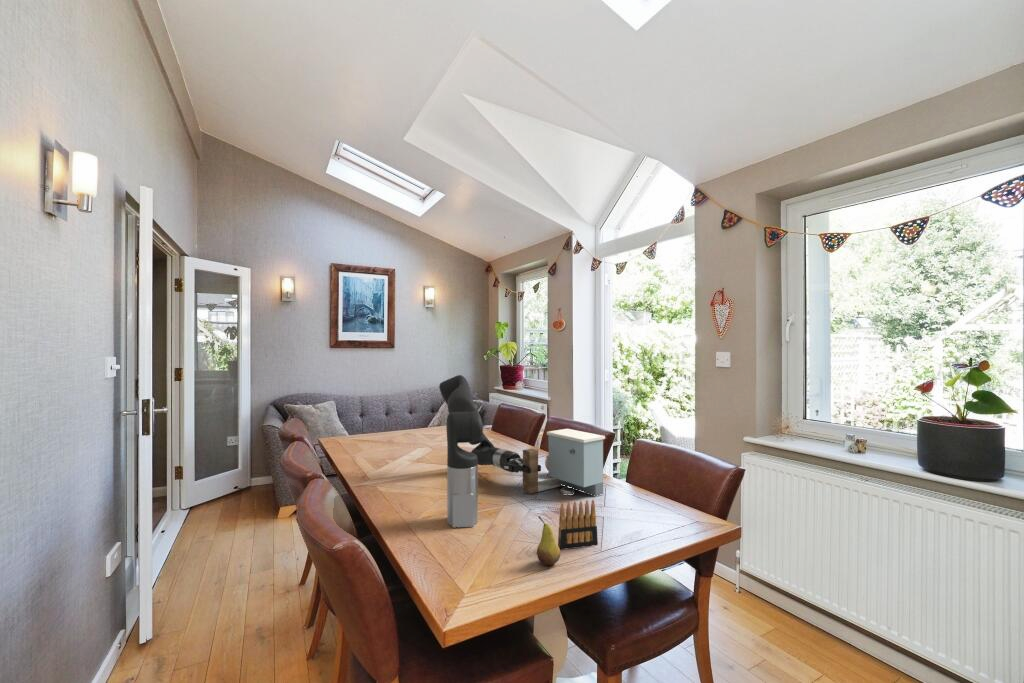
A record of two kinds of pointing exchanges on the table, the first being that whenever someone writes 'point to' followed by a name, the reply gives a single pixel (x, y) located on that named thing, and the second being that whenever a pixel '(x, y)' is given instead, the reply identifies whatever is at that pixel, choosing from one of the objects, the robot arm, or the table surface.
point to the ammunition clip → (577, 526)
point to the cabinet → (577, 459)
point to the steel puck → (567, 490)
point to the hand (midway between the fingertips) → (535, 469)
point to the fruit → (548, 547)
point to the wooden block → (535, 474)
